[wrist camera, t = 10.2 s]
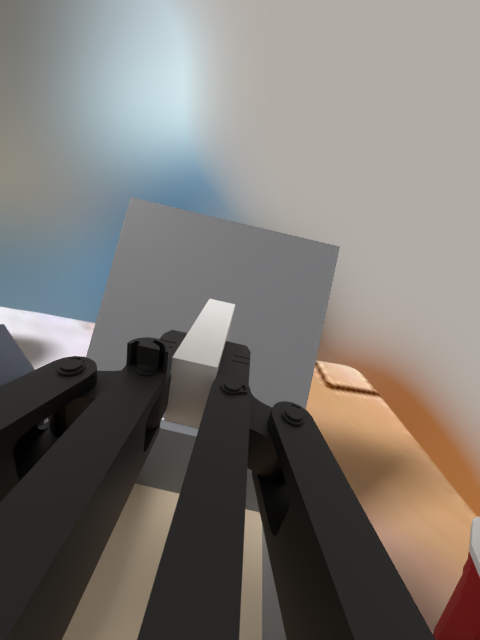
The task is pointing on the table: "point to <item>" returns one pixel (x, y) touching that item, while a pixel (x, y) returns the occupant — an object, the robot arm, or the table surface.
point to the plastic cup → (464, 598)
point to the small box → (12, 360)
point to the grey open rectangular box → (147, 546)
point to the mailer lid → (218, 292)
